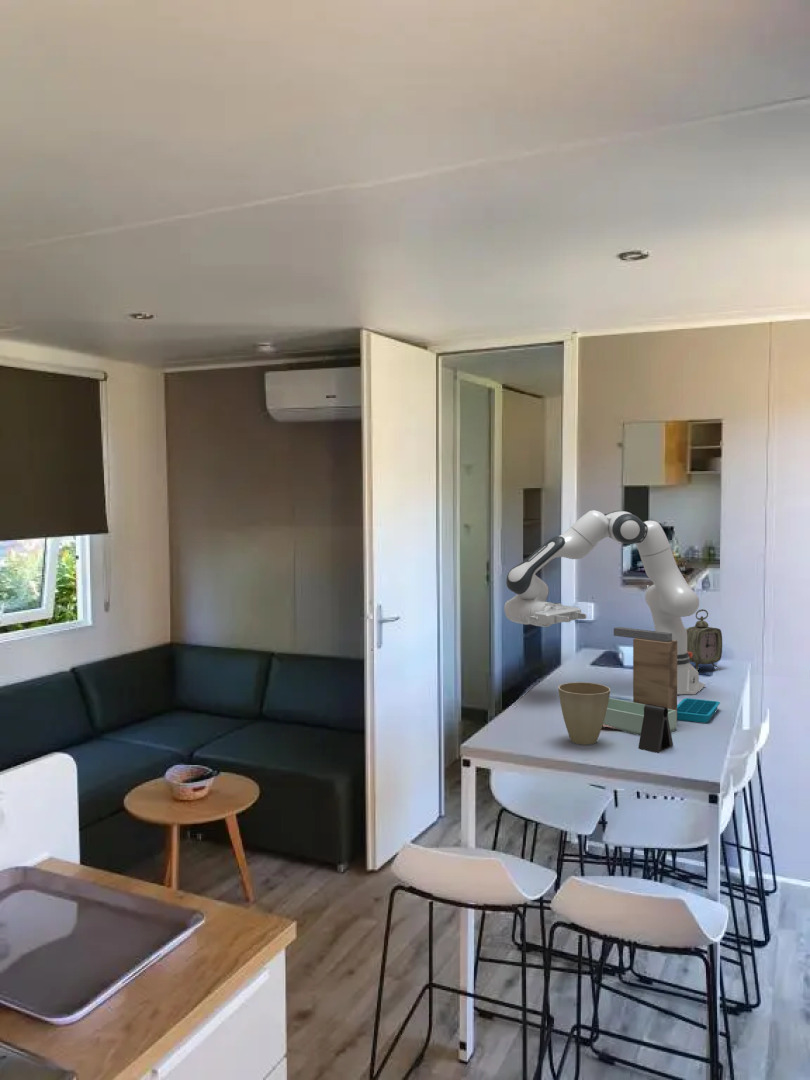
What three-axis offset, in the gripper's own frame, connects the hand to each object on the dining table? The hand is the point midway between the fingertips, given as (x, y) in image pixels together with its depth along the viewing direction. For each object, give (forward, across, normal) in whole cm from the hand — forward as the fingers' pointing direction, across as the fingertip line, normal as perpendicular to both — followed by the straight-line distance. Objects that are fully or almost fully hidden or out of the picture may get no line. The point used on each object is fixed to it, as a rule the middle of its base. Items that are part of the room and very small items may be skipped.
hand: (577, 618), depth 285 cm
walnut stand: (+29, 0, +30) cm, 42 cm away
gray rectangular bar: (+24, 0, +4) cm, 25 cm away
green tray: (+25, -11, +30) cm, 41 cm away
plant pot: (+25, -34, +30) cm, 52 cm away
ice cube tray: (+35, +16, +30) cm, 49 cm away
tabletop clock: (+6, +81, +30) cm, 87 cm away
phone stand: (+43, -25, +30) cm, 58 cm away
